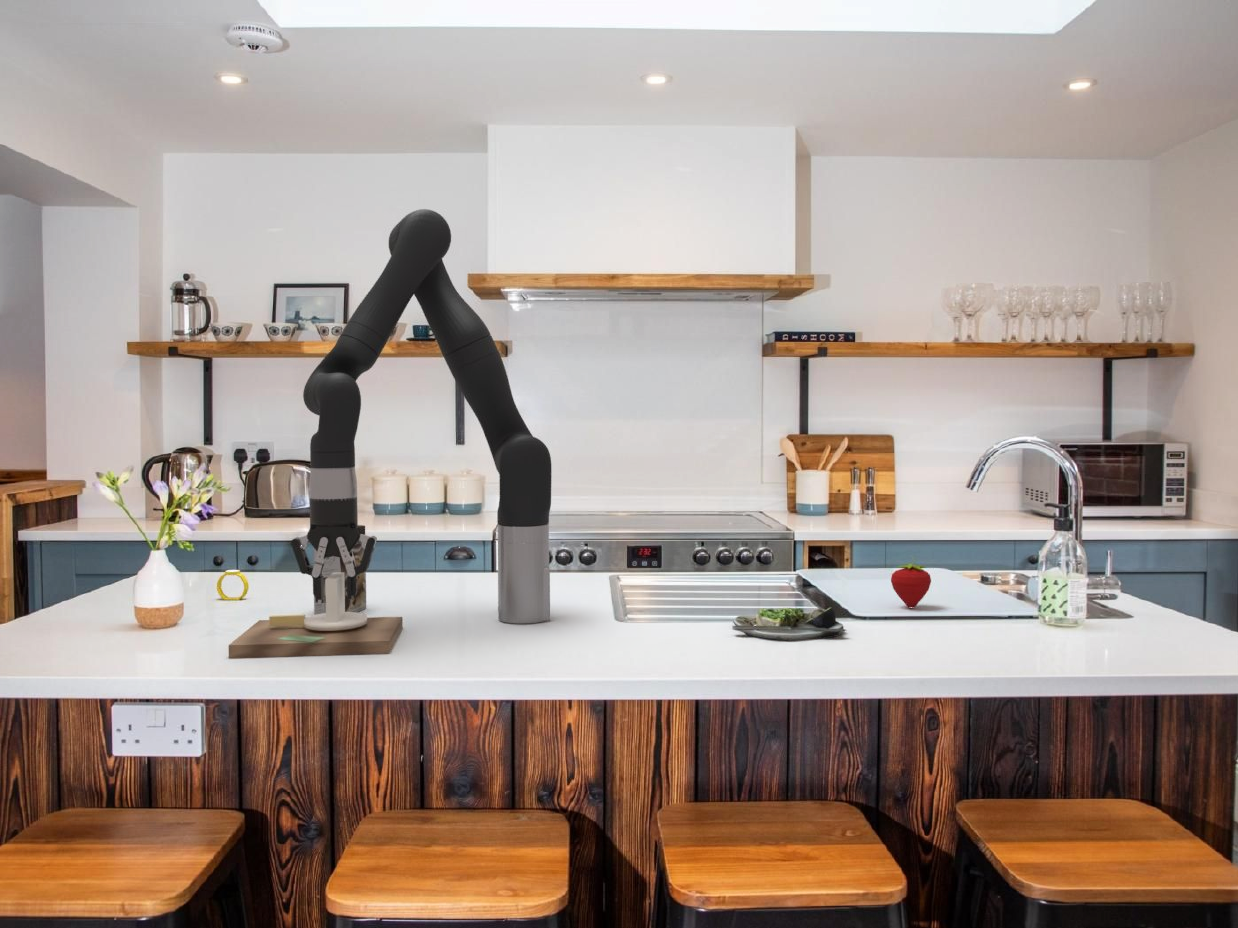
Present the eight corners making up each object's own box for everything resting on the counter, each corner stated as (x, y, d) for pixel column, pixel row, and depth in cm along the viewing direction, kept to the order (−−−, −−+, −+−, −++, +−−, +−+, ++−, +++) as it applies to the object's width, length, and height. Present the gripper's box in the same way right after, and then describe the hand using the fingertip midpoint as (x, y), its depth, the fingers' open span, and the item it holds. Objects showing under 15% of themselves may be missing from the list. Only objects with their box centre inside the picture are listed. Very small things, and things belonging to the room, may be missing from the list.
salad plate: (754, 649, 154) (754, 620, 154) (708, 626, 171) (708, 600, 171) (860, 640, 161) (860, 612, 160) (806, 618, 178) (806, 593, 177)
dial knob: (371, 616, 166) (370, 570, 166) (362, 629, 156) (361, 580, 156) (277, 619, 165) (276, 572, 164) (262, 632, 155) (261, 582, 154)
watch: (249, 599, 197) (251, 570, 197) (243, 602, 194) (245, 572, 194) (220, 597, 197) (222, 568, 197) (214, 600, 194) (215, 570, 194)
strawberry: (885, 605, 187) (886, 553, 187) (923, 604, 188) (924, 553, 187) (896, 611, 182) (897, 558, 181) (936, 610, 182) (936, 557, 182)
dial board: (402, 628, 169) (402, 616, 169) (389, 653, 151) (389, 640, 151) (259, 631, 166) (259, 619, 166) (228, 658, 148) (228, 644, 148)
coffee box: (345, 618, 177) (343, 530, 176) (313, 616, 179) (311, 529, 178) (368, 608, 186) (366, 524, 185) (337, 607, 187) (335, 523, 187)
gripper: (381, 492, 164) (382, 593, 165) (293, 493, 163) (296, 595, 163) (374, 496, 157) (376, 602, 158) (283, 497, 155) (285, 604, 156)
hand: (335, 598), depth 160 cm, fingers open, 4 cm apart
